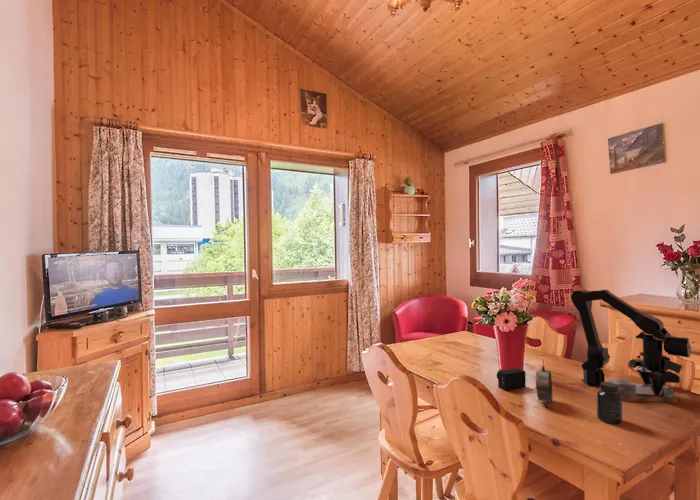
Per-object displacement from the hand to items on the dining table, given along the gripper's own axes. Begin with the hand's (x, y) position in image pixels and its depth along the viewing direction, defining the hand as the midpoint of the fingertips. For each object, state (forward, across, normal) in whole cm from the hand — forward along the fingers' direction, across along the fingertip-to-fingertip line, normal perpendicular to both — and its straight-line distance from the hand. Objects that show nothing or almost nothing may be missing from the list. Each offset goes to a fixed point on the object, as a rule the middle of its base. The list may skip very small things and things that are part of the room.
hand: (653, 393), depth 134 cm
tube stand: (+2, 0, +4) cm, 5 cm away
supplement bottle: (+2, -20, +25) cm, 33 cm away
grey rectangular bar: (0, 0, +2) cm, 2 cm away
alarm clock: (+2, -8, +41) cm, 42 cm away
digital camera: (+2, +6, +49) cm, 50 cm away
